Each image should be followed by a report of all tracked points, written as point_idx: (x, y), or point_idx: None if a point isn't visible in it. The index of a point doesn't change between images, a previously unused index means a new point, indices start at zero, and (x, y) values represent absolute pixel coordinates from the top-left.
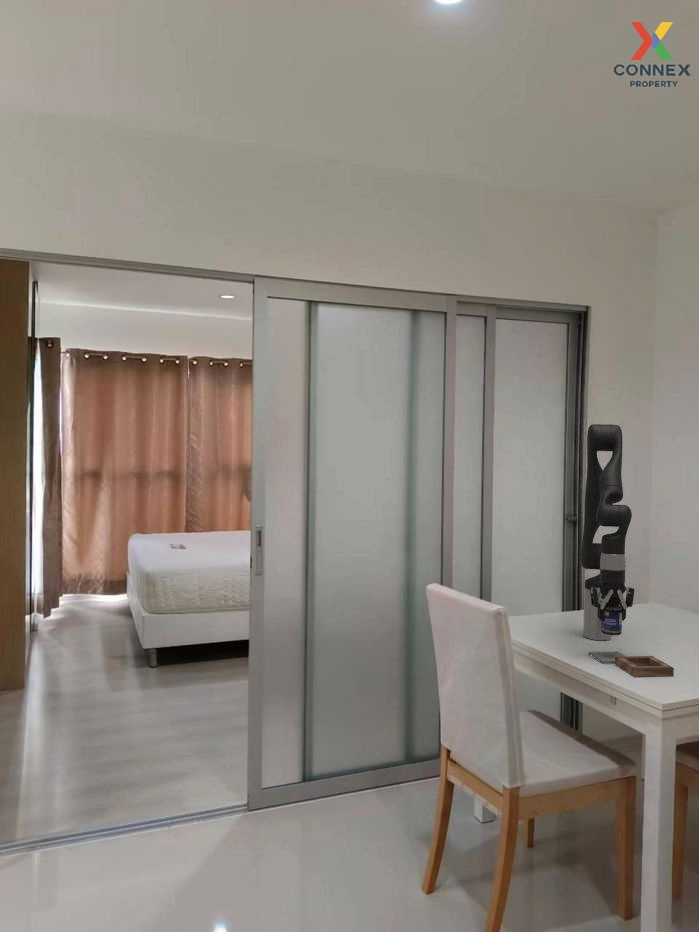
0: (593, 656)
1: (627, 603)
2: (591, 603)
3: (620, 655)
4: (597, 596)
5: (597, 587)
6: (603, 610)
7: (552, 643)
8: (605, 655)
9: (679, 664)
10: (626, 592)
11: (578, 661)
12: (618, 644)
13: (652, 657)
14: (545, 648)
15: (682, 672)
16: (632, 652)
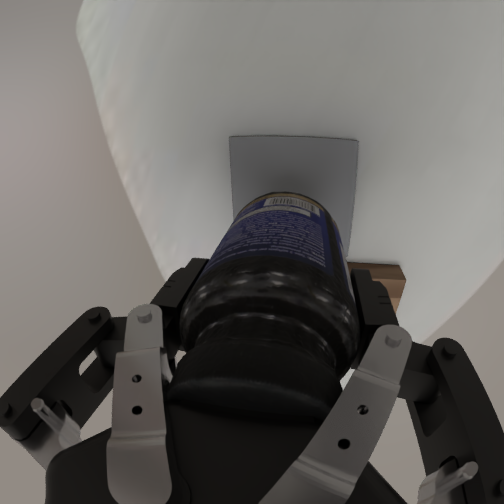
0: (232, 180)
1: (411, 397)
2: (80, 318)
3: (338, 194)
4: (86, 420)
5: (42, 465)
6: (182, 346)
7: (156, 8)
8: (277, 186)
9: (462, 277)
10: (422, 491)
11: (170, 213)
12: (418, 29)
13: (393, 295)
14: (114, 72)
15: (415, 331)
16: (422, 133)
